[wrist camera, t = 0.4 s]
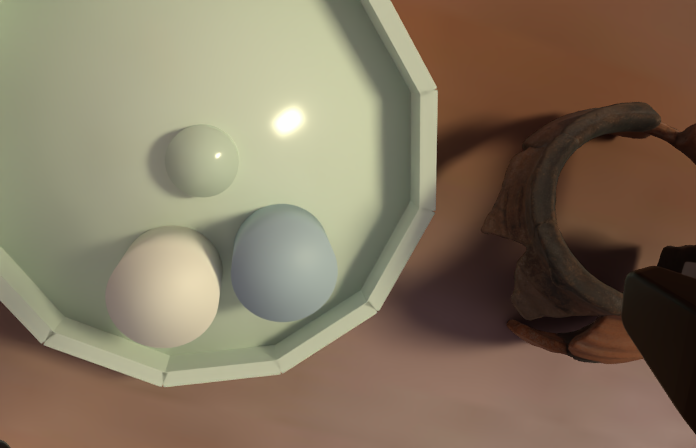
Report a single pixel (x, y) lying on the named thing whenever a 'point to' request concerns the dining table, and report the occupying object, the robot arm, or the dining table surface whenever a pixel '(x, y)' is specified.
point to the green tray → (206, 161)
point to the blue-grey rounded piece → (283, 263)
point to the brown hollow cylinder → (549, 246)
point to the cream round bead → (165, 287)
